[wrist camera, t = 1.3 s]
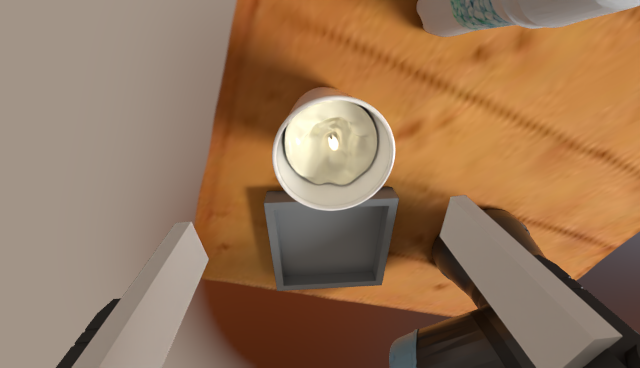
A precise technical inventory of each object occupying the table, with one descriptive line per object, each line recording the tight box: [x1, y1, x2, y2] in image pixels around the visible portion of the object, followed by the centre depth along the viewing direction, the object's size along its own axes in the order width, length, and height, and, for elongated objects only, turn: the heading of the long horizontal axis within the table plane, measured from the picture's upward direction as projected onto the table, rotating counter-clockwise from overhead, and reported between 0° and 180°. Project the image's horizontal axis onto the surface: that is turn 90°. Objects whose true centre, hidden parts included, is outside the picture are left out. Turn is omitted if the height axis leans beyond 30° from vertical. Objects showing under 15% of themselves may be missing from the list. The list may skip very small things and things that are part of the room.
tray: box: [264, 187, 399, 291], centre depth 37 cm, size 18×18×3 cm
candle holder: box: [272, 87, 395, 211], centre depth 23 cm, size 10×10×12 cm
